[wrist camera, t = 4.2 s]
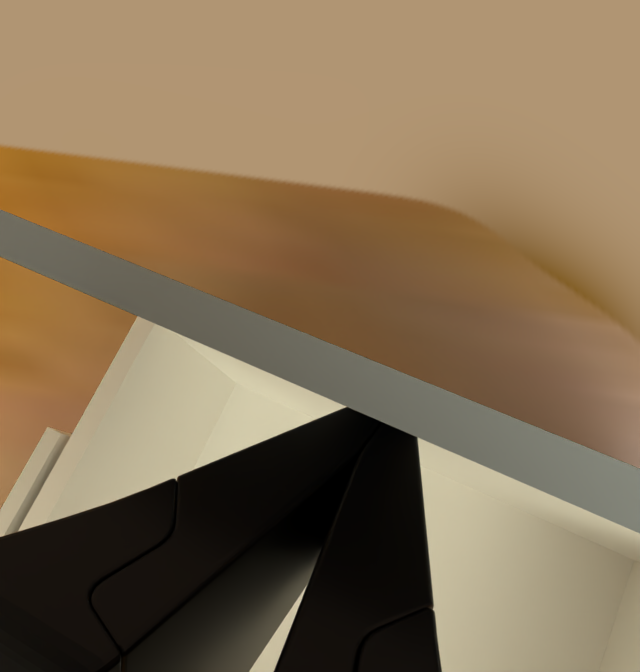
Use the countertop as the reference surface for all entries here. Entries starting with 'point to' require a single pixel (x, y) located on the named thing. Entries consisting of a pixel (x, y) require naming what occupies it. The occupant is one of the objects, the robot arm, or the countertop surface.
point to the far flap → (336, 374)
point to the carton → (439, 502)
